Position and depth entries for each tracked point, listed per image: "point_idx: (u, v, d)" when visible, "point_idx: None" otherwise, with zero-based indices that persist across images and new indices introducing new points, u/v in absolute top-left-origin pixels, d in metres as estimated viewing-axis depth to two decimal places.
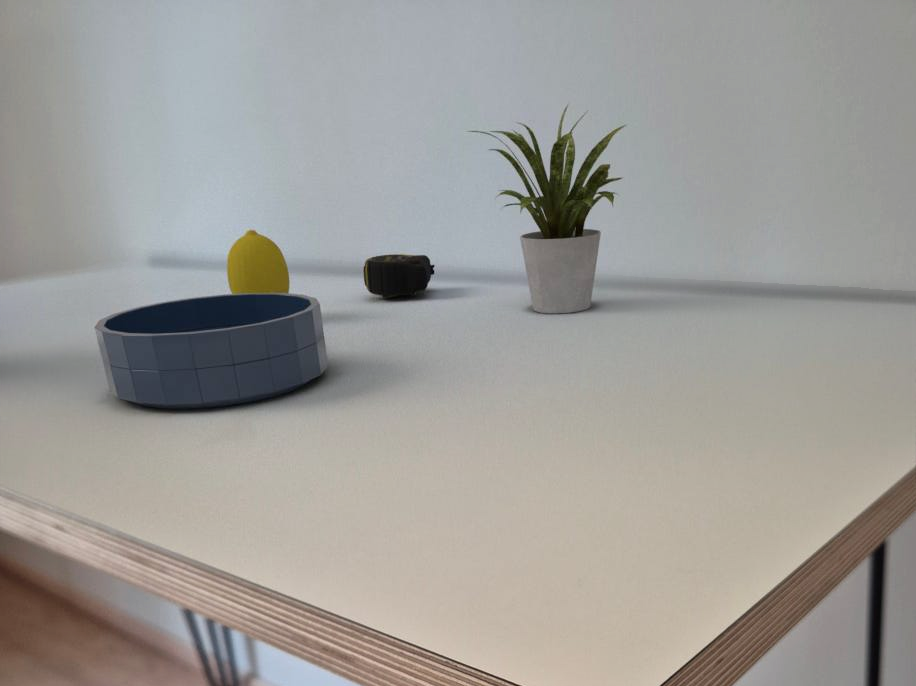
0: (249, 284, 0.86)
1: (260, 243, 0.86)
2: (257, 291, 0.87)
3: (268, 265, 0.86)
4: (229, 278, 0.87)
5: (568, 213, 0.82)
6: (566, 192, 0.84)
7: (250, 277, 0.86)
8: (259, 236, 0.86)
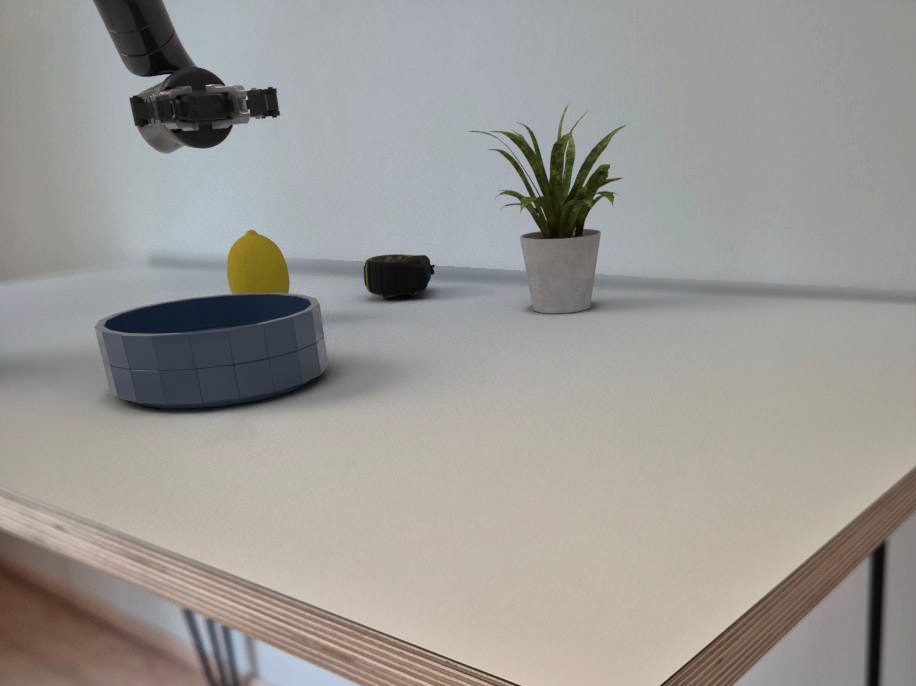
0: (249, 284, 0.86)
1: (260, 243, 0.86)
2: (257, 291, 0.87)
3: (268, 265, 0.86)
4: (229, 278, 0.87)
5: (568, 213, 0.82)
6: (567, 192, 0.84)
7: (250, 277, 0.86)
8: (259, 236, 0.86)
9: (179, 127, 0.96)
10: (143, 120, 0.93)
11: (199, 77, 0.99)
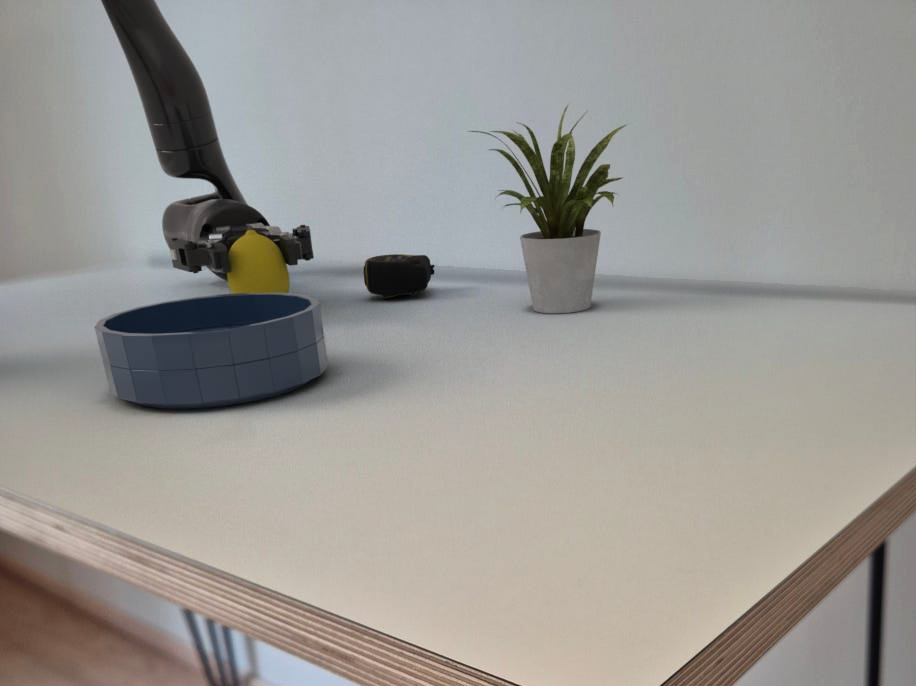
0: (249, 284, 0.86)
1: (260, 243, 0.86)
2: (257, 291, 0.87)
3: (268, 265, 0.86)
4: (229, 278, 0.87)
5: (568, 213, 0.82)
6: (567, 192, 0.84)
7: (250, 277, 0.86)
8: (259, 236, 0.86)
9: None
10: (197, 266, 0.88)
11: (239, 213, 0.94)
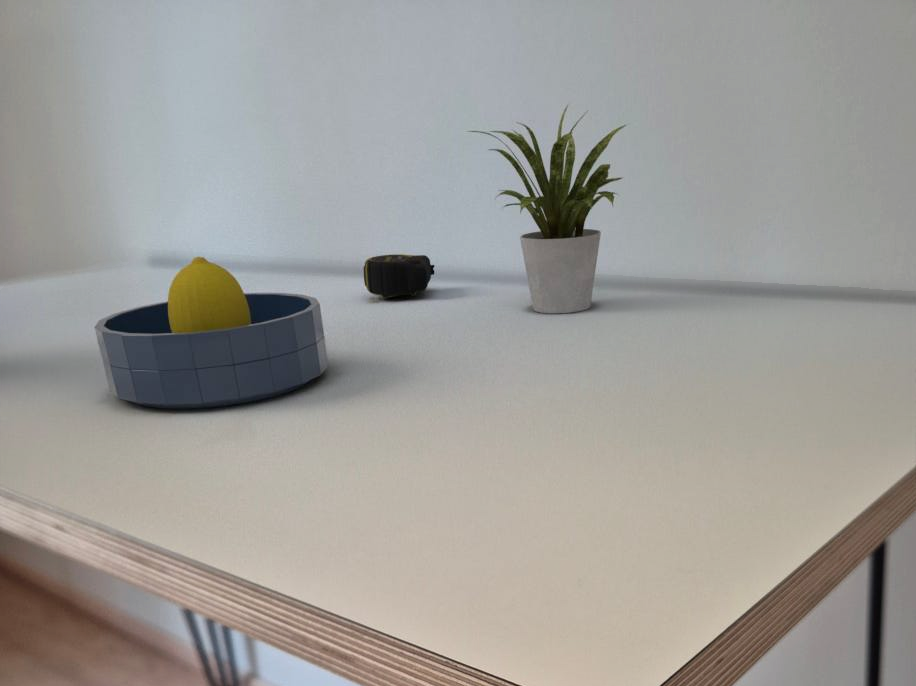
0: (196, 329, 0.65)
1: (210, 274, 0.65)
2: None
3: (222, 303, 0.65)
4: (170, 320, 0.66)
5: (568, 213, 0.82)
6: (567, 192, 0.84)
7: (198, 320, 0.65)
8: (209, 265, 0.65)
9: None
10: None
11: None
